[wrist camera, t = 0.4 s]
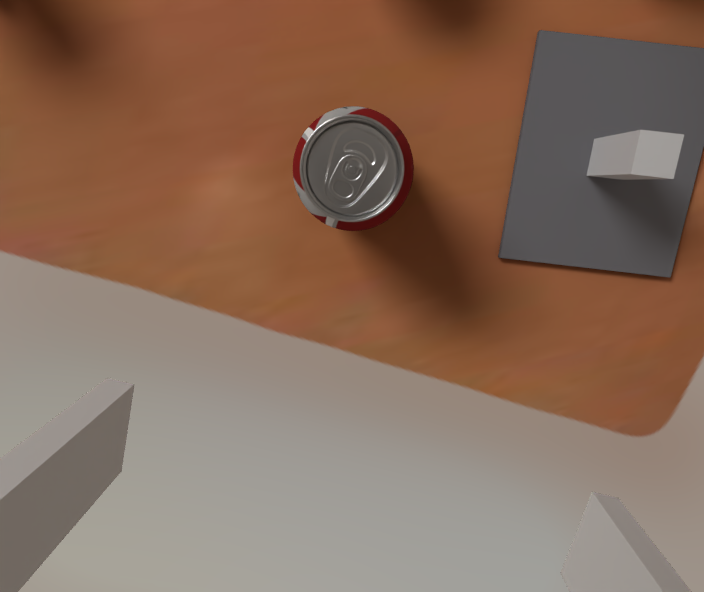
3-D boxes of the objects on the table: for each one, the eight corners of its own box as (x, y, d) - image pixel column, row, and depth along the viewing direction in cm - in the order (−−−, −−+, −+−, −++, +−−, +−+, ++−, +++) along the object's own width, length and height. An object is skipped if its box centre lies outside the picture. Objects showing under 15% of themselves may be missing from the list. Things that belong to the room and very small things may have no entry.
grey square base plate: (537, 32, 36) (577, -4, 29) (722, 52, 36) (806, 22, 29) (498, 256, 39) (525, 272, 33) (666, 276, 39) (729, 295, 32)
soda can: (418, 152, 38) (440, 139, 26) (376, 234, 39) (379, 255, 28) (337, 110, 38) (322, 76, 26) (297, 193, 39) (266, 198, 27)
